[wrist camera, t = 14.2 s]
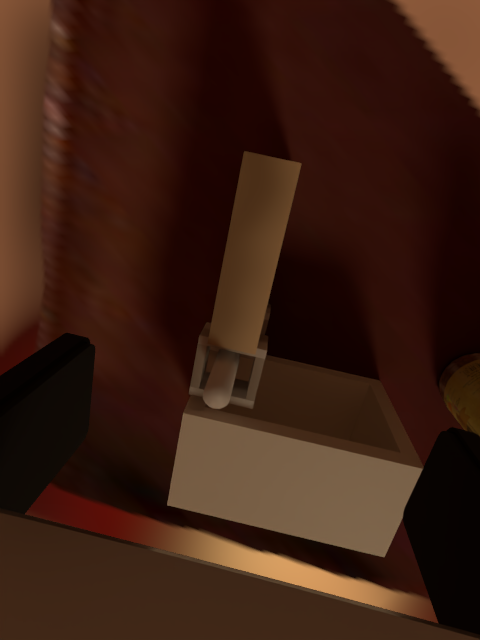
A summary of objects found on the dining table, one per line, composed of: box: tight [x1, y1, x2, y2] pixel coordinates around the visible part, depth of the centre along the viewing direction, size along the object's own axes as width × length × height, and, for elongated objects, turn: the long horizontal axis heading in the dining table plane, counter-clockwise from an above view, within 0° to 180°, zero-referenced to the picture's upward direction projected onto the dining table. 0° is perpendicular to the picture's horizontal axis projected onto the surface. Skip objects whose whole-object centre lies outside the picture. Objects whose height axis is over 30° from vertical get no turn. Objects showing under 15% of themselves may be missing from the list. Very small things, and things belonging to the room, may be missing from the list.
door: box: [189, 151, 302, 409], centre depth 28 cm, size 4×15×12 cm, turn 168°
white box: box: [167, 349, 424, 557], centre depth 30 cm, size 16×12×14 cm
